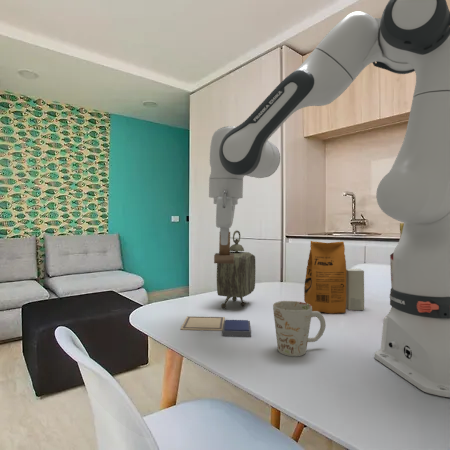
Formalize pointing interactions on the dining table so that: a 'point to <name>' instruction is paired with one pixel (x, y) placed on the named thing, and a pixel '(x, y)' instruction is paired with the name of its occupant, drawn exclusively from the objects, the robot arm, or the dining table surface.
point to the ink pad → (236, 328)
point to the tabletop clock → (236, 274)
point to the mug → (295, 326)
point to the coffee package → (326, 278)
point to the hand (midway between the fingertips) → (224, 244)
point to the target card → (203, 323)
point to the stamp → (224, 253)
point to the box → (354, 289)
